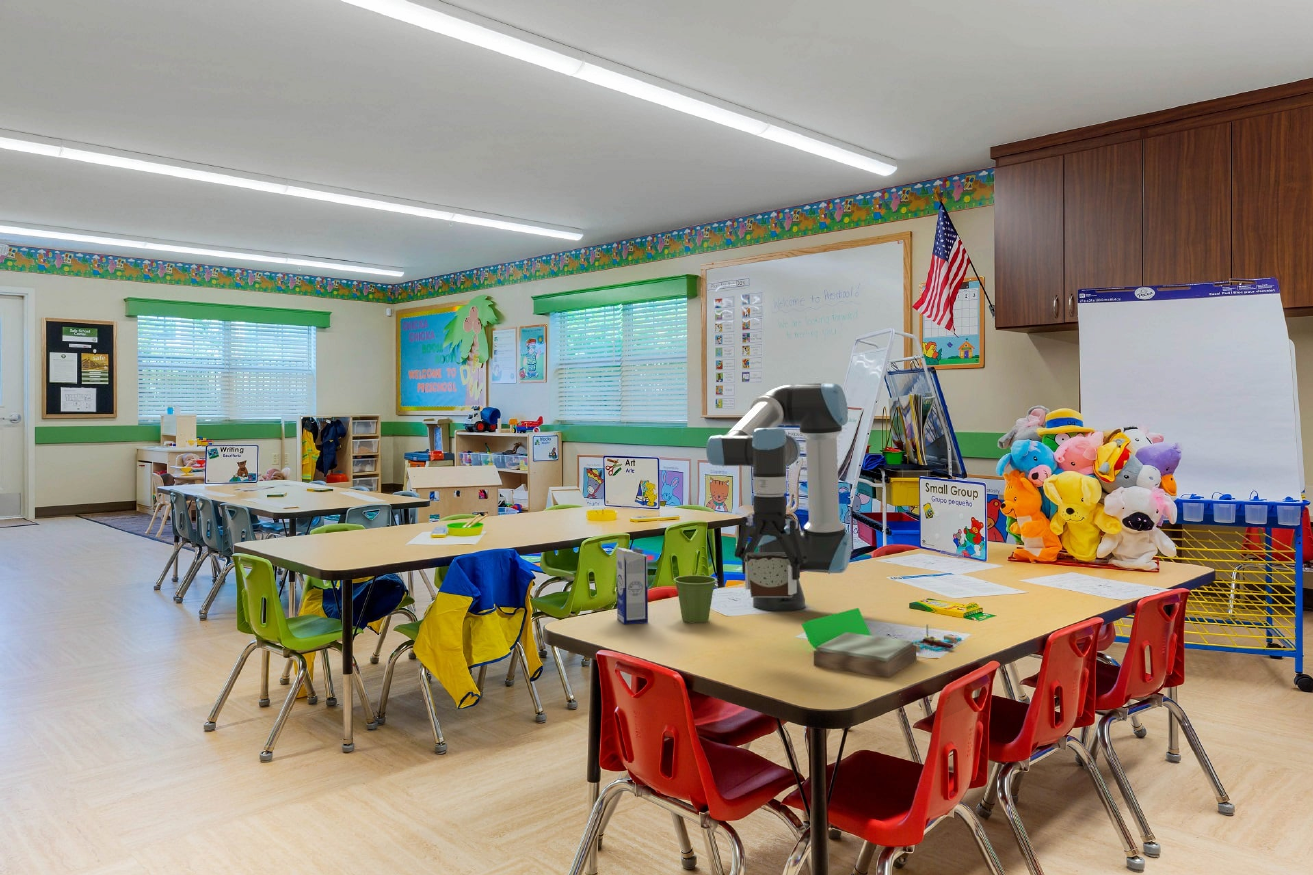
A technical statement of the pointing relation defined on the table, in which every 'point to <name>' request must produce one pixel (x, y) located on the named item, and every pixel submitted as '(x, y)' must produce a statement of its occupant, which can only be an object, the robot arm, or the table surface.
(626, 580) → the milk carton
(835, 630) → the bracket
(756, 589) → the food container
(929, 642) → the toy boat
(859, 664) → the stand
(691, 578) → the plant pot
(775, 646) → the table surface
